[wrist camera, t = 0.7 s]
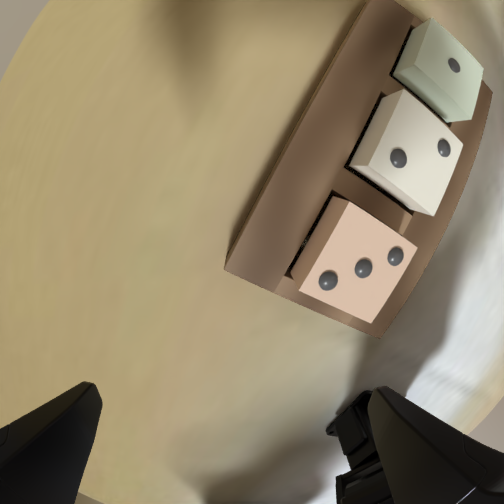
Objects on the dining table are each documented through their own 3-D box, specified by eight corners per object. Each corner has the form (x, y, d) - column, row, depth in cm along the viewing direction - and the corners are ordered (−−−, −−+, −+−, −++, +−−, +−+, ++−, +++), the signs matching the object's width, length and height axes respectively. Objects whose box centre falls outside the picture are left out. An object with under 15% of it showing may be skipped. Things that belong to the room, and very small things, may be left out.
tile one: (461, 74, 13) (484, 68, 10) (446, 122, 14) (472, 119, 11) (412, 30, 12) (432, 16, 9) (392, 75, 13) (415, 63, 10)
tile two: (438, 145, 14) (464, 144, 12) (409, 209, 15) (434, 216, 13) (382, 98, 13) (404, 88, 11) (348, 165, 15) (369, 165, 12)
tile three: (395, 236, 16) (418, 248, 13) (355, 303, 17) (371, 324, 14) (332, 196, 15) (350, 201, 12) (290, 272, 16) (299, 291, 14)
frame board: (477, 95, 14) (492, 92, 13) (369, 325, 20) (379, 338, 18) (366, 1, 13) (376, -11, 11) (225, 258, 18) (223, 269, 16)
